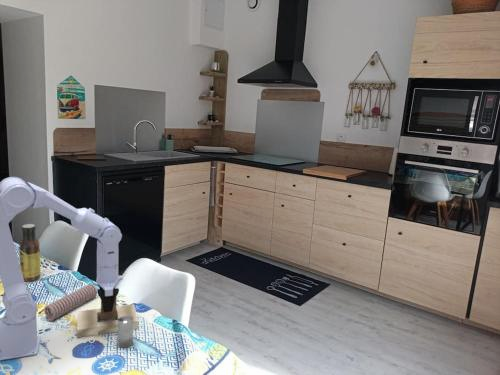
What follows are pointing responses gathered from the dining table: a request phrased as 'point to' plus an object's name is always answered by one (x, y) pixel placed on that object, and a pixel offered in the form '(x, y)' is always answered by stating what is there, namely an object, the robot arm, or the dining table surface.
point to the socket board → (91, 326)
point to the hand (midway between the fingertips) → (107, 307)
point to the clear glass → (125, 332)
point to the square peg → (108, 314)
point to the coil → (70, 302)
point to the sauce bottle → (29, 254)
